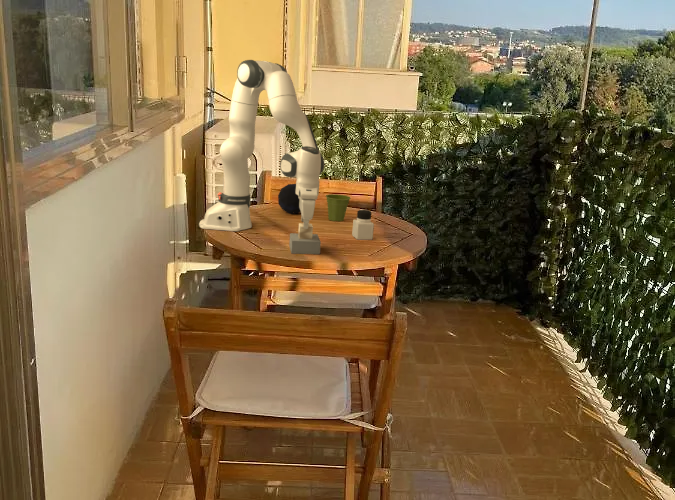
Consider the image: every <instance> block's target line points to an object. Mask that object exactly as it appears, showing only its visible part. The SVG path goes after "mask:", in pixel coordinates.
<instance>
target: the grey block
mask: <svg viewBox="0 0 675 500" xmlns="http://www.w3.org/2000/svg"><path fill="white" fill-rule="evenodd" d="M288 247H289V250H290V253H291V254H294V255H295V254H299V255H301V254H302V255H321V240H320V237H319V235H318V233H317V234H316V233H313V234H312V239H299V237H298V233H295V232H294V233H293V232H292V233H289V246H288Z"/></svg>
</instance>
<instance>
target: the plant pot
mask: <svg viewBox="0 0 675 500" xmlns="http://www.w3.org/2000/svg"><path fill="white" fill-rule="evenodd" d="M325 197H326V202H327V216H328V220H329V221H332V222H343V221H345V216H346V212H347V208H348V206H349V203H350V200H351V198H352V197H350V196H348V195H344V194H338V193H337V194H336V193H335V194H333V193H330V194H329V193H328V194H325Z"/></svg>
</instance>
